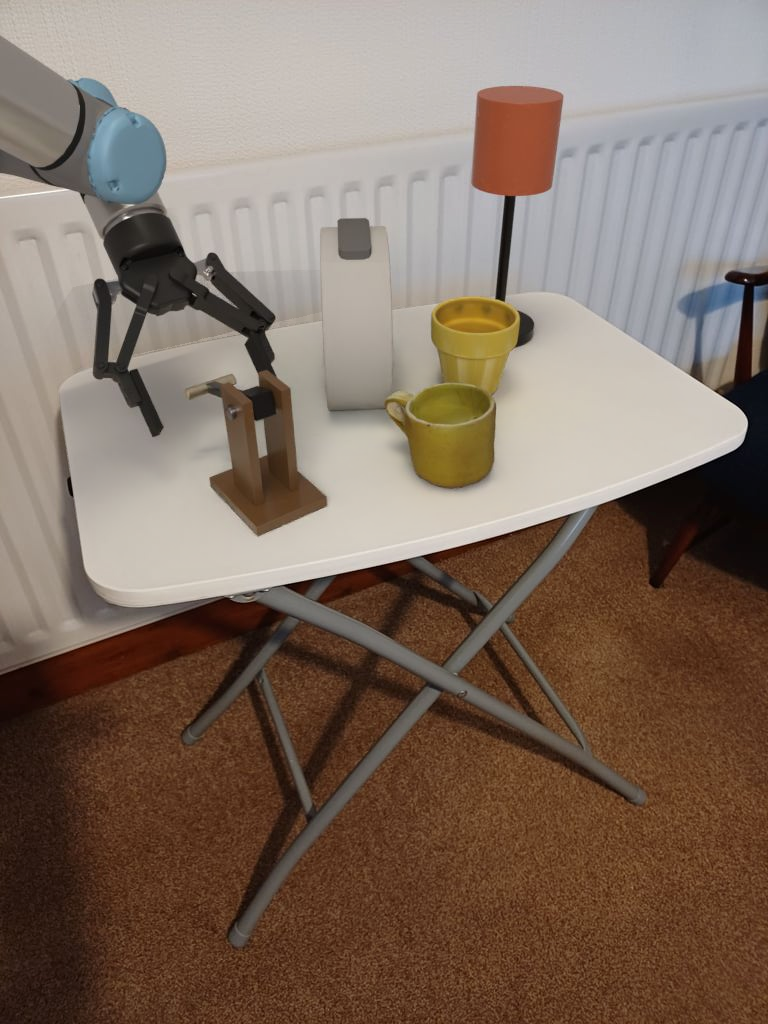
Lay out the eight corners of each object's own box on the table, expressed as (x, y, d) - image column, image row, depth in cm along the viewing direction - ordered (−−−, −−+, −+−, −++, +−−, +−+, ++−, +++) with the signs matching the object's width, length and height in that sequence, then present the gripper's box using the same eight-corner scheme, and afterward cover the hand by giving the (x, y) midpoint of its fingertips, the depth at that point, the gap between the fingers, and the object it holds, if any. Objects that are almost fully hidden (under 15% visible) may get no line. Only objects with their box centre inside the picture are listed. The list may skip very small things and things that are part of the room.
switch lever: (187, 404, 82) (180, 382, 81) (234, 388, 84) (228, 367, 83) (240, 427, 72) (233, 402, 71) (291, 408, 74) (286, 384, 73)
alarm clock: (328, 344, 107) (320, 194, 95) (382, 343, 107) (382, 193, 95) (327, 428, 90) (318, 260, 78) (392, 426, 91) (393, 258, 78)
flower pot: (455, 416, 93) (461, 340, 86) (413, 378, 100) (415, 305, 94) (528, 396, 96) (538, 321, 90) (482, 360, 103) (489, 289, 97)
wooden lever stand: (210, 486, 82) (191, 377, 74) (276, 460, 85) (265, 354, 77) (257, 536, 76) (242, 423, 68) (327, 506, 79) (320, 395, 71)
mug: (530, 449, 84) (505, 375, 77) (470, 514, 80) (440, 442, 74) (447, 424, 92) (419, 355, 86) (390, 481, 88) (356, 414, 82)
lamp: (466, 349, 106) (484, 104, 87) (456, 317, 114) (471, 86, 95) (539, 347, 106) (573, 103, 88) (525, 316, 114) (552, 85, 95)
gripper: (232, 224, 92) (308, 389, 92) (14, 272, 80) (100, 460, 80) (249, 188, 85) (330, 365, 85) (14, 235, 74) (107, 440, 74)
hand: (219, 412), depth 83 cm, fingers open, 13 cm apart
